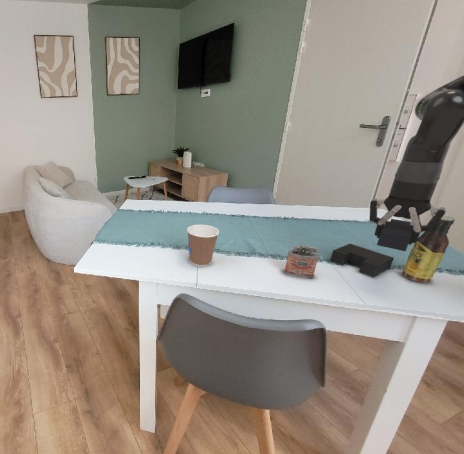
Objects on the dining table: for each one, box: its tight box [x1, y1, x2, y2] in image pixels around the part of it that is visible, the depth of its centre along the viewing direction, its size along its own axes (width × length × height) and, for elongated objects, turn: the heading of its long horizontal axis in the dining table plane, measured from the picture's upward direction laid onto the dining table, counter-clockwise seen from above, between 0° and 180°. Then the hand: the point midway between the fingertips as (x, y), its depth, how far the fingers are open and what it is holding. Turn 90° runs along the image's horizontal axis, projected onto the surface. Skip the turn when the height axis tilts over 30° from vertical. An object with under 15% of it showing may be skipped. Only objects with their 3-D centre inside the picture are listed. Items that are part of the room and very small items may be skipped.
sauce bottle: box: [402, 214, 456, 283], centre depth 83 cm, size 7×6×20 cm
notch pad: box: [329, 243, 395, 278], centre depth 94 cm, size 12×10×4 cm
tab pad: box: [376, 218, 414, 252], centre depth 78 cm, size 6×13×4 cm, turn 133°
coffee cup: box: [186, 224, 220, 267], centre depth 100 cm, size 10×10×12 cm
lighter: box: [283, 244, 320, 280], centre depth 90 cm, size 8×3×10 cm, turn 65°
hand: (393, 240), depth 78 cm, fingers closed on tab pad, 5 cm apart
